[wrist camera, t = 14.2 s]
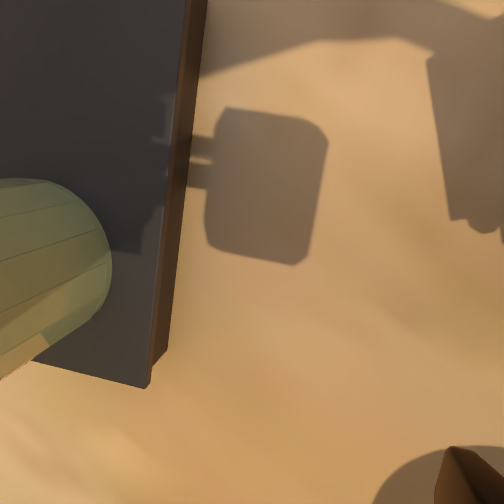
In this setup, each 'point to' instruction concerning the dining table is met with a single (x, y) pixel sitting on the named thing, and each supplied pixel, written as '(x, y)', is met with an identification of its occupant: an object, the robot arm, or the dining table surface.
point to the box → (108, 151)
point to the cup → (47, 268)
